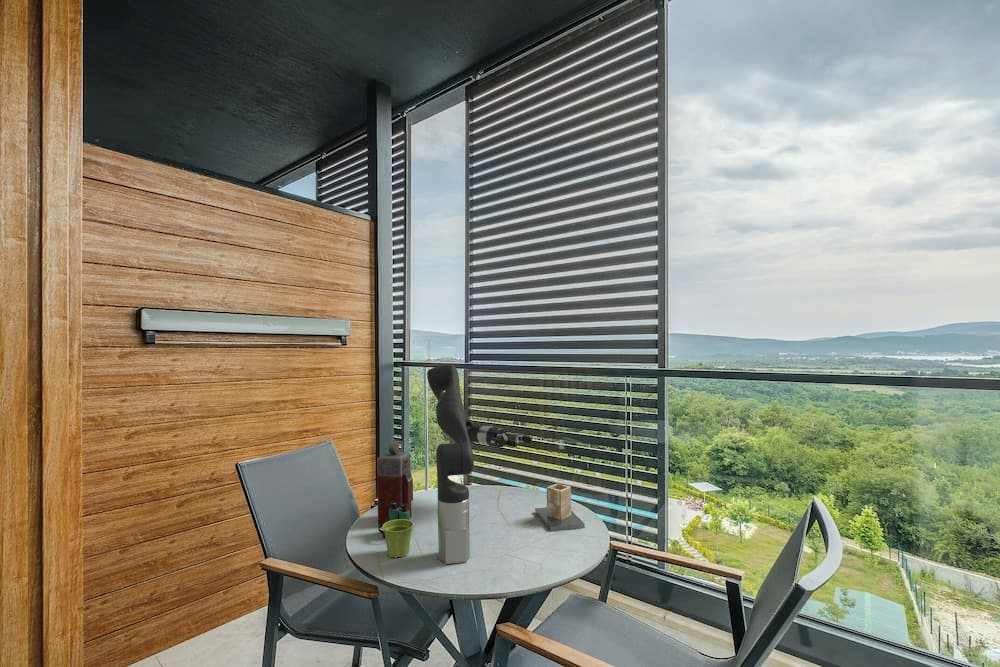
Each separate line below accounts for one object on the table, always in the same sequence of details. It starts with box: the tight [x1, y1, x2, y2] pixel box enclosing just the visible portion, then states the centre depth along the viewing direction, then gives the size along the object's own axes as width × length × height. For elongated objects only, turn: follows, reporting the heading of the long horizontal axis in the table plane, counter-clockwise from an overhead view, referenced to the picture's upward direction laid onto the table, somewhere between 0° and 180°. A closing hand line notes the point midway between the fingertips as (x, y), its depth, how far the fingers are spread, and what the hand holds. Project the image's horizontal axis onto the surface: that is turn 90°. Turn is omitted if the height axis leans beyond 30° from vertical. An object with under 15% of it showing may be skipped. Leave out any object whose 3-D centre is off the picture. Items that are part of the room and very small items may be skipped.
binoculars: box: [377, 501, 411, 539], centre depth 162 cm, size 9×11×10 cm
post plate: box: [534, 506, 586, 532], centre depth 174 cm, size 18×12×8 cm, turn 12°
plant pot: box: [381, 519, 415, 559], centre depth 149 cm, size 9×9×9 cm
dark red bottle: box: [376, 440, 414, 526], centre depth 176 cm, size 9×11×28 cm
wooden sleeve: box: [546, 483, 572, 520], centre depth 174 cm, size 6×6×10 cm
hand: (524, 442), depth 181 cm, fingers open, 8 cm apart
